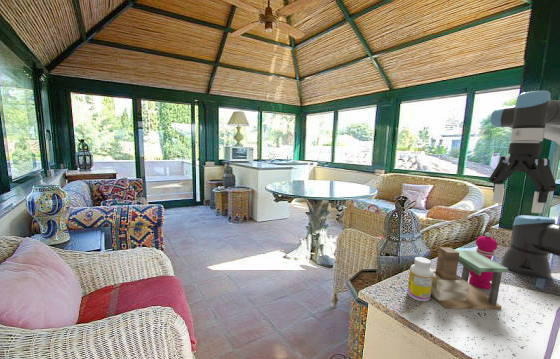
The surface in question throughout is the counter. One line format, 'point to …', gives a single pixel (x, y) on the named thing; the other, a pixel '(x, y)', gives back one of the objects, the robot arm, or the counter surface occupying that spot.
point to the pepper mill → (486, 249)
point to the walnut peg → (447, 263)
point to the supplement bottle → (420, 279)
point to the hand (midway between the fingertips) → (515, 207)
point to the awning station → (464, 293)
